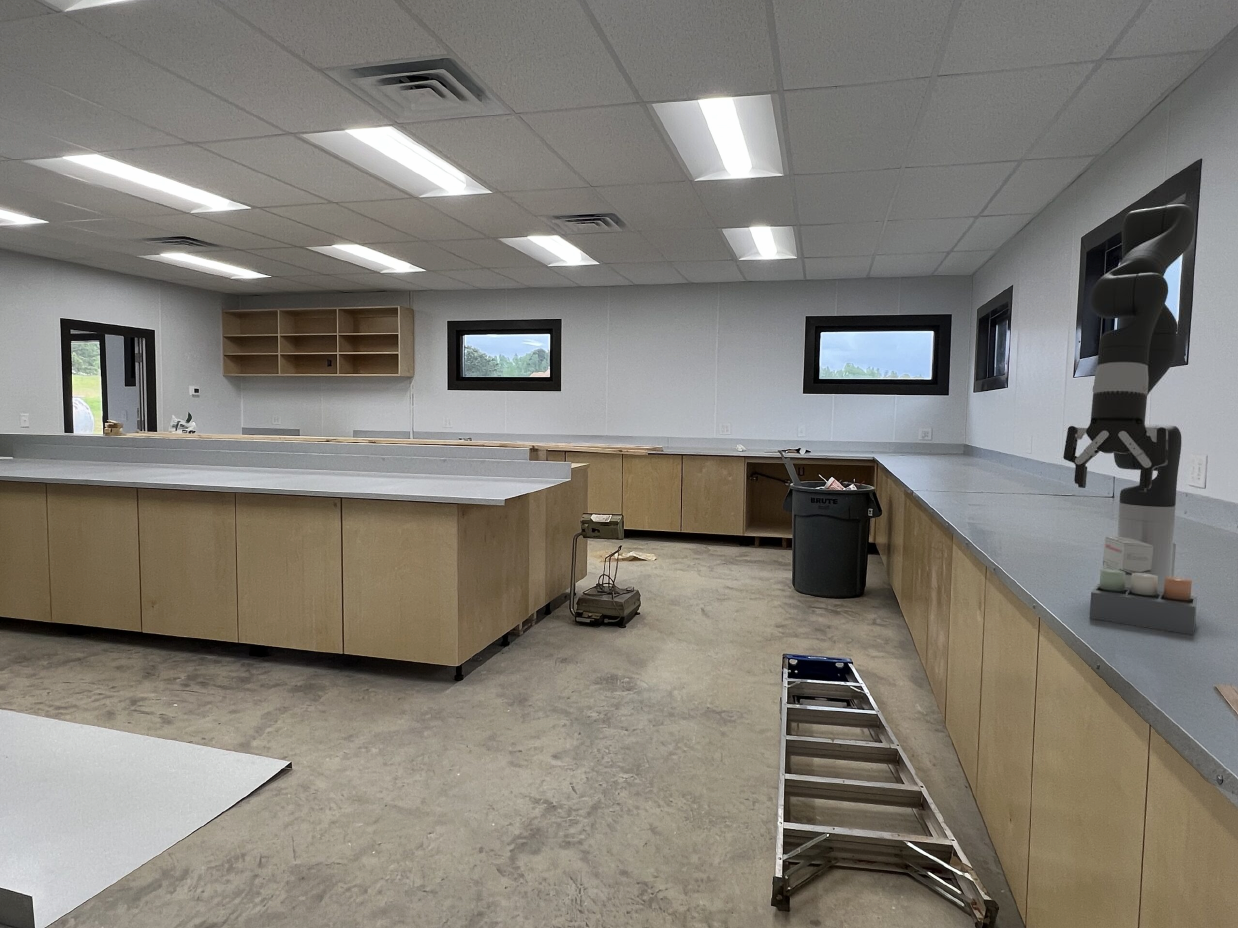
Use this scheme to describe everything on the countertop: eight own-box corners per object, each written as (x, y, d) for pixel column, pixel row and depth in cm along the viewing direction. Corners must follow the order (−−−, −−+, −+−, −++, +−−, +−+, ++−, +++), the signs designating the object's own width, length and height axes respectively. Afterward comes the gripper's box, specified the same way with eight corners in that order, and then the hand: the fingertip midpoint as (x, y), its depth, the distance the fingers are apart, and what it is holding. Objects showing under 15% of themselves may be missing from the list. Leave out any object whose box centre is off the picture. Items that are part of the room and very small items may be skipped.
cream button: (1131, 589, 127) (1132, 571, 127) (1157, 592, 125) (1158, 575, 124) (1129, 592, 124) (1130, 575, 124) (1155, 596, 122) (1157, 578, 122)
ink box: (1150, 609, 132) (1154, 544, 132) (1119, 607, 133) (1123, 542, 133) (1127, 598, 141) (1131, 536, 140) (1098, 596, 142) (1102, 535, 141)
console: (1096, 608, 133) (1098, 583, 132) (1195, 622, 124) (1197, 596, 123) (1089, 618, 126) (1091, 592, 125) (1193, 634, 117) (1195, 606, 116)
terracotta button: (1164, 593, 124) (1165, 575, 124) (1191, 597, 122) (1192, 579, 122) (1162, 597, 121) (1163, 579, 121) (1190, 600, 119) (1191, 582, 119)
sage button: (1100, 584, 130) (1101, 568, 130) (1125, 588, 127) (1126, 571, 127) (1098, 588, 127) (1099, 571, 127) (1123, 591, 125) (1124, 574, 125)
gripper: (1176, 396, 120) (1167, 495, 120) (1076, 397, 130) (1067, 488, 130) (1169, 388, 115) (1160, 491, 114) (1065, 389, 125) (1056, 484, 124)
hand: (1111, 489), depth 122 cm, fingers open, 8 cm apart
